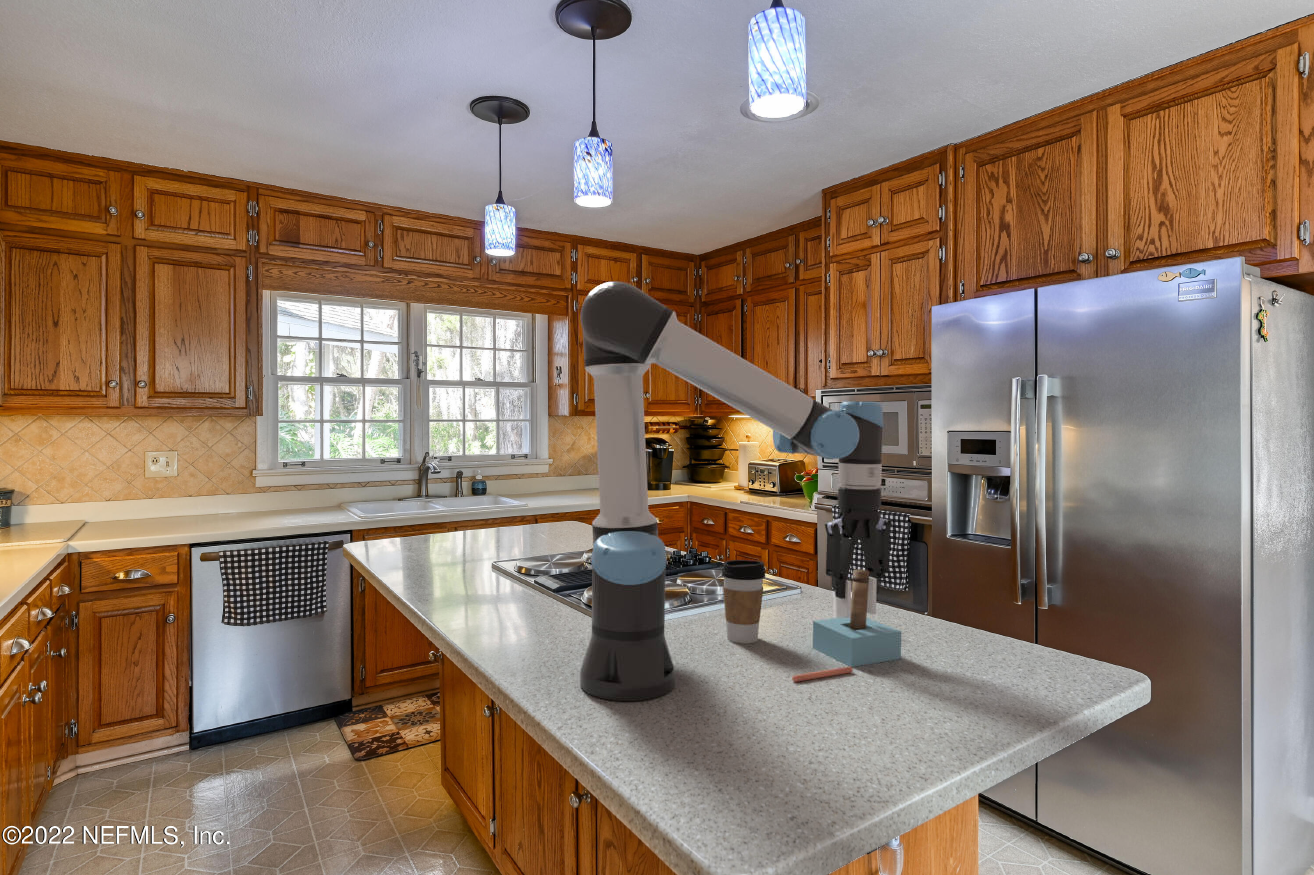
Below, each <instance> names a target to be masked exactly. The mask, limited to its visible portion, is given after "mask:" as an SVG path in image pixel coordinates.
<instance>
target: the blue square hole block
mask: <svg viewBox="0 0 1314 875" xmlns="http://www.w3.org/2000/svg"><path fill="white" fill-rule="evenodd" d="M812 648H813V649H814V650H817V651H818V652H820V653H822V654H825V655H826V656H829V657H831V658H832V659H834V660H836V661H838V662H841V663H842V664H844V665H846V666H847V667H852V668H853V667H860V666H865V665H872V664H878V663H885V662H889V661H895V660H896V661H897V660H901V656H902V630H899V629H897V628H894V627H892V626H889V625H886V624H884V623H881V622H879V621H877V620H874V619H871V618H869V617H867V618H866V629H863V630H852V629H850V618H846V617H841V618H834V617H833V618H827V619H819V620H812Z"/></svg>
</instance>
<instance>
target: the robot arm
mask: <svg viewBox="0 0 1314 875" xmlns="http://www.w3.org/2000/svg"><path fill="white" fill-rule="evenodd" d="M580 323H581V328H582V334H583V335H582V337H583V340H582V341H583V356H584V358H583V361H584V369H585V371H587V373H588V374H589V375H591V376H592V378H593V384H594V386H593V388H594V405H595V406H594V408H595V409H594V410H595V428H596V430H595V432H596V449H597V450H596V452H597V453H596V454H597V470H598V471H597V472H598V493H599V495H598V496H599V511H600V512H599V514H598V515H597V516H596V517H595V518H594V520H593V521H592V523H591V524H592V526H591V527H592V545H593V546H592V552H591V557H590V559H591V562H590V563H591V566H592V568H591V569H592V570H591V571H592V574H591V575H592V576H591V578H592V579H591V580H592V582H591V636H590V639H589V642H588V646H587V648H586V651H585V654H584V657H583V660H582V663H581V667H580V671H579V675H580V676H579V685H580V688H581V689H582V690H583V691H584V692H585V693H587V694H589V695H591V696H593V697H596V698H600V699H604V700H609V701H617V702H637V701H638V702H640V701H646V700H651V699H652V700H653V699H655V698H659V697H661V696H663V695H664V696H665V695H666V694H668V693H670V691H672V690H673V688H674V687H675V684H676V678H675V677H676V672H675V671H676V670H675V666H674V663H673V659H672V657H671V653H670V650H669V647H668V646H669V645H668V643H667V640H666V636H665V626H666V625H665V617H666V615H665V614H666V610H665V609H666V606H665V605H666V603H665V602H666V567H667V563H668V559H667V558H668V557H667V554H666V545H665V543H664V542H663V540H662V539H661V538H660V537H659V530H658V528H659V526H658V518H657V517H656V516H654V515H653V514H652V513H651V512H650V510H649V494H648V491H649V490H648V474H647V473H648V472H647V471H648V470H647V453H646V452H647V451H646V432H645V431H646V429H645V428H646V427H645V425H646V424H645V408H644V407H645V406H644V382H643V381H644V380H643V376H644V374H645V373H646V372H647V371H648V370H649V369H650V367H651V364H655V365H658V367H661V368H663V369H665V370H666V371H668V372H670V373H672V374H674V375H675V376H677V377H678V378H681V379H683V380H684V381H686V382H688V383H690V384H691V385H693V386H694V387H697V388H698V389H701V390H702V391H704V392H705V393H707V394H709V395H711V396H713V397H714V398H716V399H718V400H720V401H721V402H723V403H725V404H726V405H729V406H730V407H732V408H733V409H736V410H737V411H739V412H741V413H743V414H745V415H746V416H748V417H750V418H751V419H753V420H755V421H757V422H759V423H761V424H762V425H763V426H764V425H765V426H766V427H768V428H769V429H771V430H772V442H773V447H774V449H775V450H776V451H777V453H781V454H782V453H783V454H791V455H794V454H805V455H810V456H816V457H820V458H822V459H826V460H836V459H838V476H837V478H838V479H837V483H838V484H839V485H841V486H840V487H839V488H837V506H838V509H839V513H838V516H837V519H835V520H833V521H826V522H825V523H824V527H825V532H826V553H825V575H826V576H827V577H830V578H833V579H834V580H835V581H834V582H835V583H834V584H835V585H834V587H835V588H834V592H835V595H836V597H838V613H837V614H839V615H841V616H844V617H846V618H850V617H851V591H852V581H851V580H849V579H848V578H849V573H850V571H851V570H850V569H851V566H852V560H853V557H854V552H855V549H856V548H855V547H856V546H857V545H858V543H859V541H860V543H861V547H862V553H863V558H864V563H865V570H866V571H869V584H868V601H867V614H870V615H872V616H873V615H877V614H876V613H877V595H879V592H880V579H884V576H885V574H888V573H889V570H890V531H891V528H892V525H893V522H892V520H890V519H885V518H882V517H881V516H880V513H879V510H880V509H881V508H882V507H881V506H882V490H881V489H880V488H879V486H881V485H882V468H883V467H882V466H883V464H882V463H883V462H882V461H883V460H882V459H883V458H882V457H883V436H884V434H883V433H884V413H883V406H882V405H881V404H880V402H877V401H842V402H841V403H840V405H839V410H835V409H831V408H829V407H828V406H826V405H824V404H822V403H821V402H819V401H818V400H815V399H813V398H812V397H811V396H809V395H806V394H805V393H804V392H802V391H800V390H798V389H796V388H795V387H793V386H791V385H789V384H788V383H786V382H784V381H783V380H781V379H779V378H778V377H775V376H774V375H772V374H771V373H769V372H767V371H766V370H764V369H762V368H760V367H758V366H756V365H755V364H753V363H751V362H749V361H748V360H746V359H744V358H743V357H741V356H739V355H737V354H736V353H734V352H732V351H731V350H728V349H727V348H726V347H724V346H722V345H720V344H718V343H717V342H716V341H713V340H712V339H710V338H709V337H706V336H705V335H703V334H701V333H699V332H697V331H696V330H694V329H692V328H691V327H689V326H687V325H685V324H683V323H682V322H680V321H679V319H678V317H677V313H676V311H674V310H672V309H670V308H669V307H668V306H666V305H664V304H663V303H661V302H659V301H658V300H657V299H654V298H653V297H651V295H648V294H647V293H646V292H644V291H643V290H641V289H640V288H638V287H637V286H634V285H633V284H630V283H627V282H624V281H619V280H618V281H608V282H604V283H602V284H600V285H597V286H596V287H595V288H593V289H592V290H591V291H590V292H589V293H588V295H587V296H585V299H584V301H583V303H582V306H581V309H580Z"/></svg>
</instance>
